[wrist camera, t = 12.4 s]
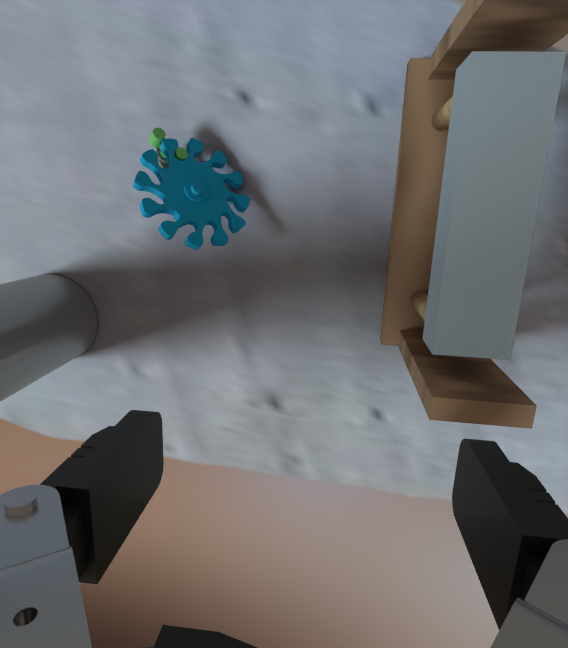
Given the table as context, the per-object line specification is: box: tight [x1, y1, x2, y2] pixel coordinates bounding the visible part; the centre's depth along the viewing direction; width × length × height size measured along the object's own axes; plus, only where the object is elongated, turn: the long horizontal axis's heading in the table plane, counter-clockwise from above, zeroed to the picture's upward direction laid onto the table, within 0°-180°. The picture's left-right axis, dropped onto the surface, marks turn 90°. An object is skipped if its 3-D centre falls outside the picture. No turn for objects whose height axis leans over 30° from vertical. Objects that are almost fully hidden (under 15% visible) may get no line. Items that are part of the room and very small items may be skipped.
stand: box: [380, 0, 568, 428], centre depth 32 cm, size 9×24×16 cm, turn 178°
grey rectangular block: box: [423, 51, 566, 360], centre depth 29 cm, size 18×5×4 cm, turn 178°
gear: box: [133, 128, 250, 250], centre depth 40 cm, size 11×6×10 cm
